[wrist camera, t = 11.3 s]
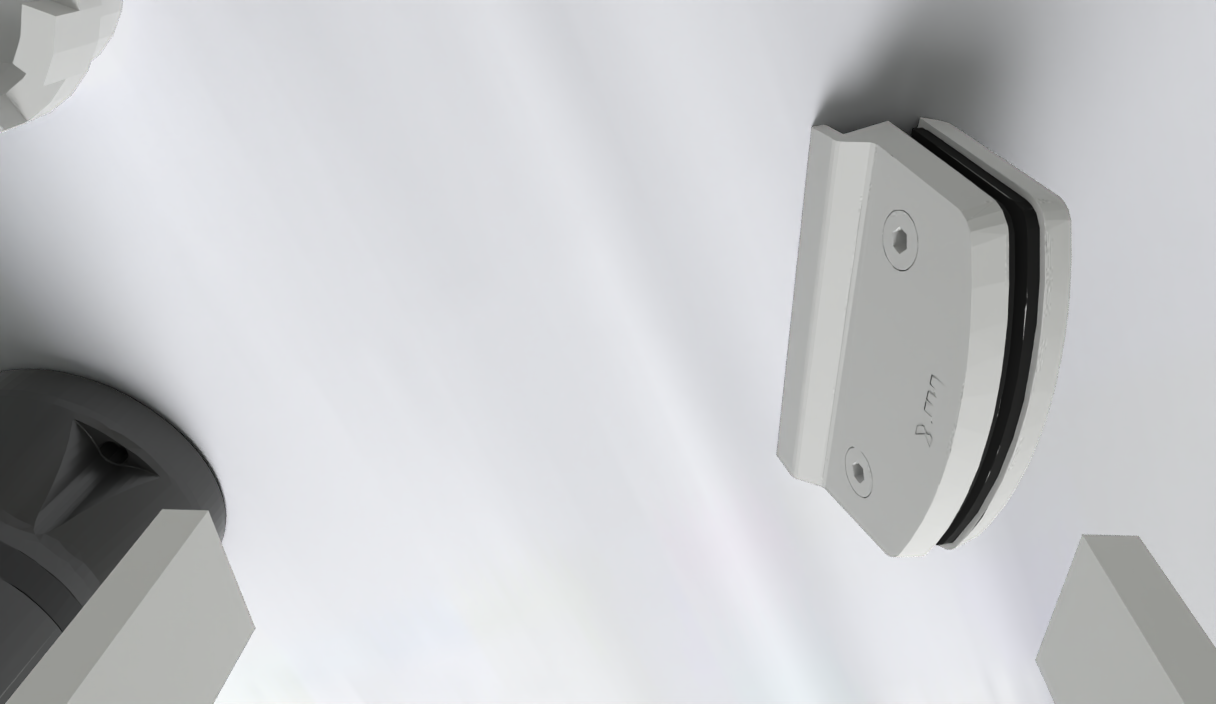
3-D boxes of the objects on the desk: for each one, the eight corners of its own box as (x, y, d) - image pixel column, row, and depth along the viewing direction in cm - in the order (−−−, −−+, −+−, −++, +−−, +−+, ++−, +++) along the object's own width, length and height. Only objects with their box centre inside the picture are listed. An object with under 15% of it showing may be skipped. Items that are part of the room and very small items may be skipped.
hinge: (812, 116, 30) (984, 207, 22) (923, 104, 31) (1129, 188, 23) (775, 461, 39) (888, 621, 30) (863, 444, 40) (995, 594, 31)
